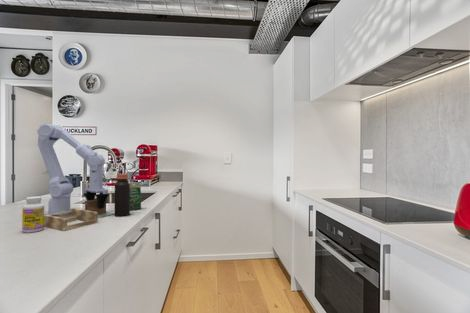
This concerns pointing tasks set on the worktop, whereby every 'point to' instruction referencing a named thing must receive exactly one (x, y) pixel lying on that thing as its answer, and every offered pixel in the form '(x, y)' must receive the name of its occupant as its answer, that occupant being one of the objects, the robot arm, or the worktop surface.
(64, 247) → the worktop surface
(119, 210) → the vinegar
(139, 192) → the coffee box
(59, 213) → the grey offcut
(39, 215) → the supplement bottle
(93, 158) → the robot arm
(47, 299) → the worktop surface
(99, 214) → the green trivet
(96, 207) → the walnut board
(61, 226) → the oak rack
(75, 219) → the pine offcut
